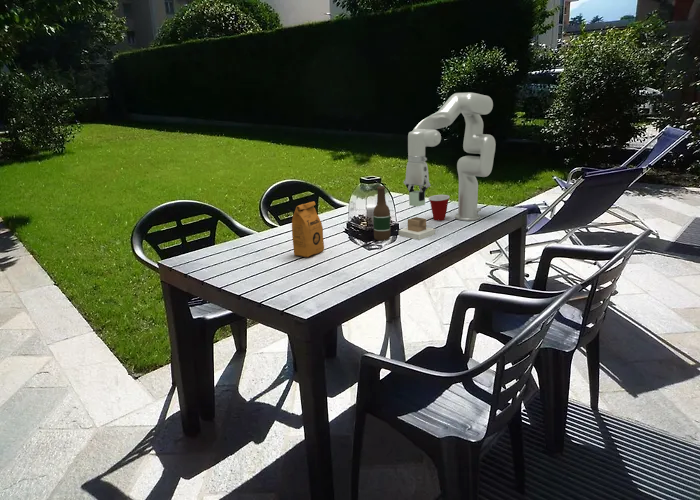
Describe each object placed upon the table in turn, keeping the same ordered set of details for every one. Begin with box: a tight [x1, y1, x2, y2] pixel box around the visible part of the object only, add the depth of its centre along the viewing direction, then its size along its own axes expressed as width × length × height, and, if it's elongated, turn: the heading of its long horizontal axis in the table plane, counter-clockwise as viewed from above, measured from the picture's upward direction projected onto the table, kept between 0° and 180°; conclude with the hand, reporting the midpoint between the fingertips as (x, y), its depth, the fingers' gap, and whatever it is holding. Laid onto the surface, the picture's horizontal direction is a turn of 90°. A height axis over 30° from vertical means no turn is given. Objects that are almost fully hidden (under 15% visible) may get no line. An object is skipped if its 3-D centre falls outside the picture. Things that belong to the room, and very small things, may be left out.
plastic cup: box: [427, 194, 450, 222], centre depth 259 cm, size 11×11×12 cm
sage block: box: [408, 190, 426, 208], centre depth 231 cm, size 5×5×6 cm
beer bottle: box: [372, 185, 391, 241], centre depth 229 cm, size 8×8×24 cm
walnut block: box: [407, 216, 427, 232], centre depth 234 cm, size 6×6×5 cm
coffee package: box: [291, 201, 325, 258], centre depth 212 cm, size 10×12×22 cm
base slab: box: [398, 226, 436, 241], centre depth 236 cm, size 12×12×2 cm
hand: (416, 199), depth 231 cm, fingers closed on sage block, 4 cm apart
